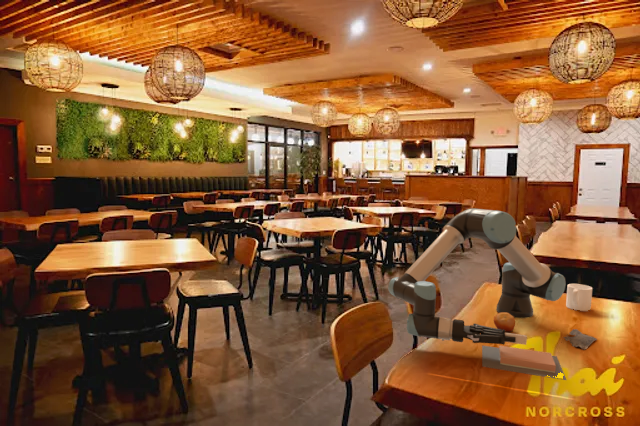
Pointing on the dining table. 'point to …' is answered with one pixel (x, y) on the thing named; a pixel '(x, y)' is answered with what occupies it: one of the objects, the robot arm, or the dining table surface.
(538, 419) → the dining table surface
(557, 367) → the rubber mat
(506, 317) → the fruit
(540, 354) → the terracotta tile
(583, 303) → the mug
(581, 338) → the stone slab
